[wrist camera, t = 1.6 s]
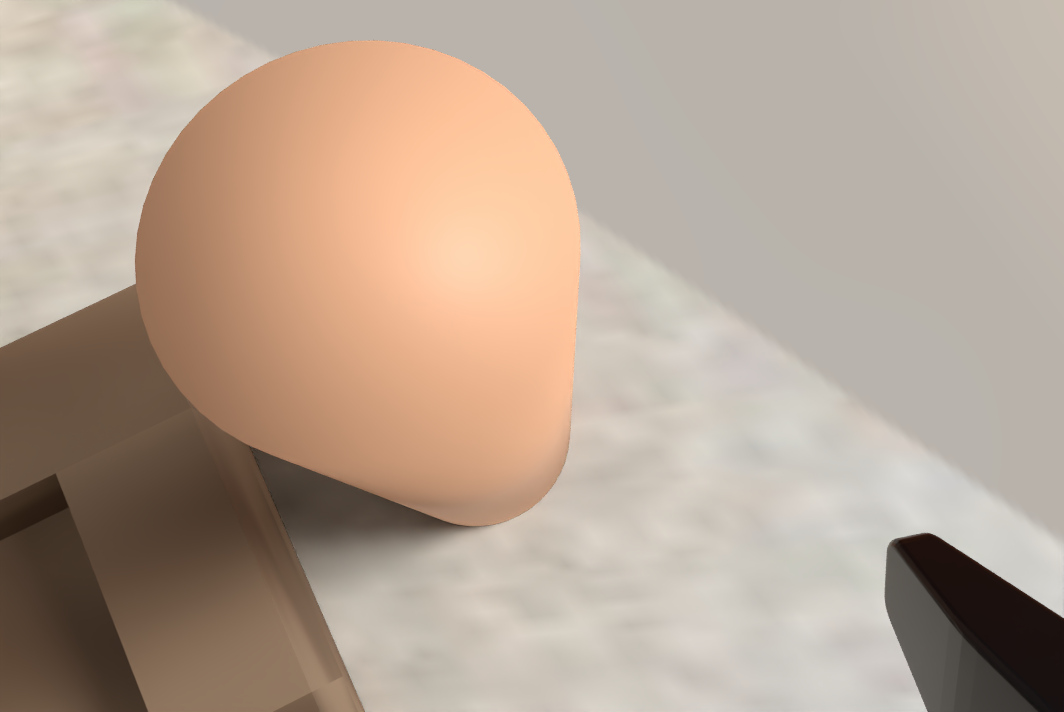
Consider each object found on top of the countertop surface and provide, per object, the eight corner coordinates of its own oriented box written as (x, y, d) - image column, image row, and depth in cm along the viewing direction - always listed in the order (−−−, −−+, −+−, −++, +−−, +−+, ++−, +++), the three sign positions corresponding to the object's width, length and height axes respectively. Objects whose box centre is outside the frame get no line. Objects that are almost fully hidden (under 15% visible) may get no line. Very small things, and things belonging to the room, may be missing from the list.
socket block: (403, 801, 19) (375, 843, 17) (-118, 1072, 19) (-244, 1167, 16) (195, 321, 22) (137, 283, 19) (-279, 547, 21) (-415, 544, 18)
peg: (602, 472, 21) (659, 339, 9) (431, 559, 20) (237, 548, 8) (518, 309, 22) (462, -28, 9) (353, 390, 21) (70, 154, 9)
